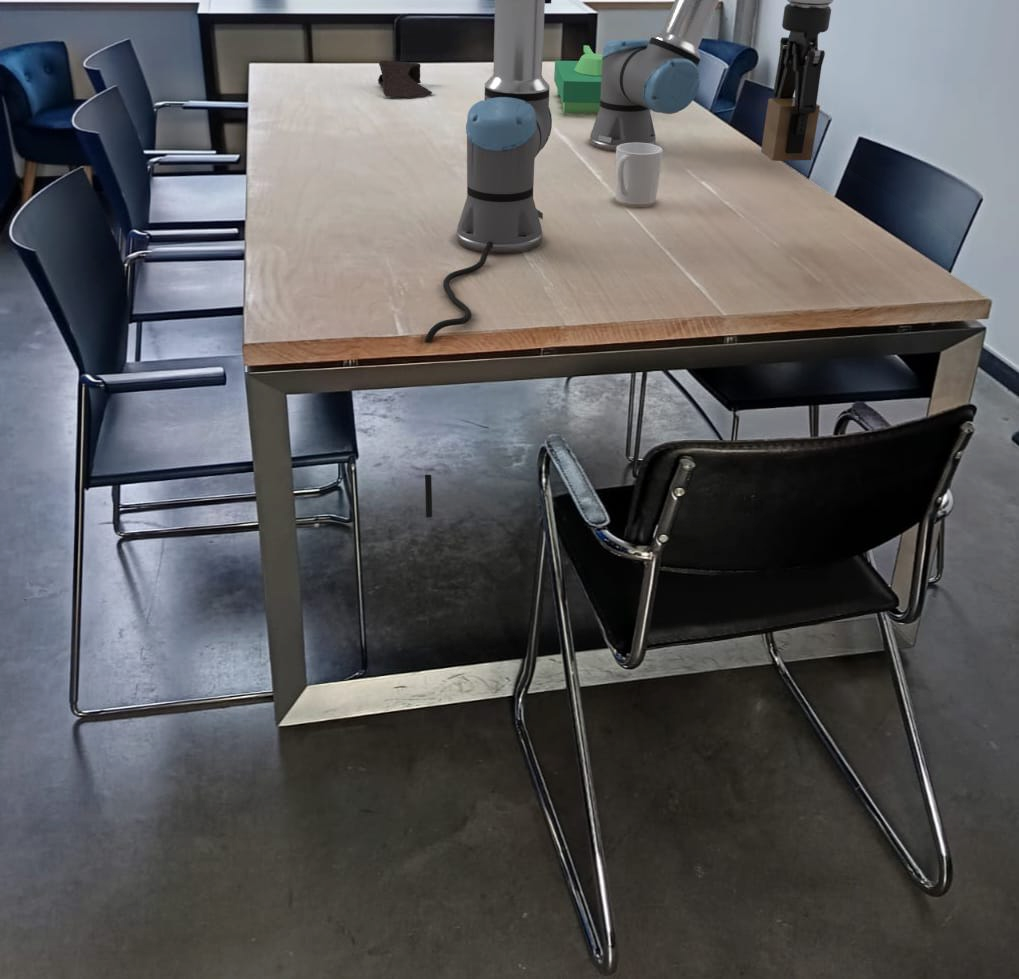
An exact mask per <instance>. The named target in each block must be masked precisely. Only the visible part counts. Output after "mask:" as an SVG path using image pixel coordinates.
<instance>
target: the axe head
mask: <svg viewBox="0 0 1019 979" xmlns="http://www.w3.org/2000/svg"><path fill="white" fill-rule="evenodd" d="M378 66H379V68H380V72H381V74H379V75H378V79H377V84H378V85H379V86H380V87H381V88H382V89H383V95H384V96H385V97H388V98H394V99H395V98H396V99H403V98H405V99H406V98H407V99H411V98H418V97H425V96H429V95H432V94H433V91H431V90H430V89H428V88H427V87H425V86H422V85H421V84H422V82H421V63H419V62H410V61H408V62H407V61H397V60H388V59H387V60H380V61H379V62H378Z"/></svg>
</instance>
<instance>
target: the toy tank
mask: <svg viewBox="0 0 1019 979" xmlns="http://www.w3.org/2000/svg"><path fill="white" fill-rule="evenodd" d="M602 56H603V53H594V52H593V50H592V49H591V47H590V45H586V44H585V45H583V55H581V57H580V58H579V60H554V73H553V74H554V75H553V81H554V83H555V87H556V89H557V90H556V91H557V92H556V94H557V97H560V101H561V103H562V113H563V114H565V115H568V114H569V115H570V114H571V115H574V114H575V115H598V112H599V109H600V96H601V78H602Z"/></svg>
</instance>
